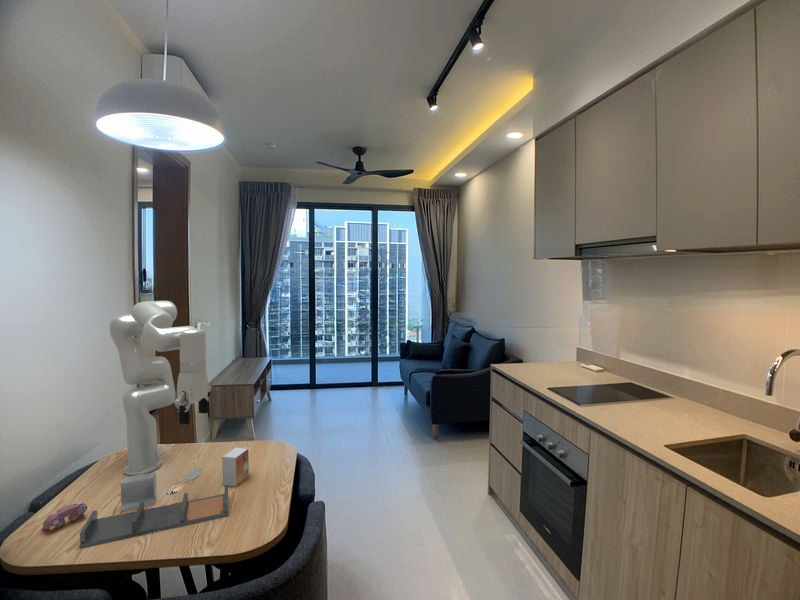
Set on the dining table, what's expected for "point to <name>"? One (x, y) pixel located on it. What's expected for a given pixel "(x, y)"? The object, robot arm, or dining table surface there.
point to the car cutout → (190, 477)
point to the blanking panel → (138, 491)
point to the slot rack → (152, 519)
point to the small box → (235, 466)
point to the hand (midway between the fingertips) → (194, 418)
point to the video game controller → (65, 515)
